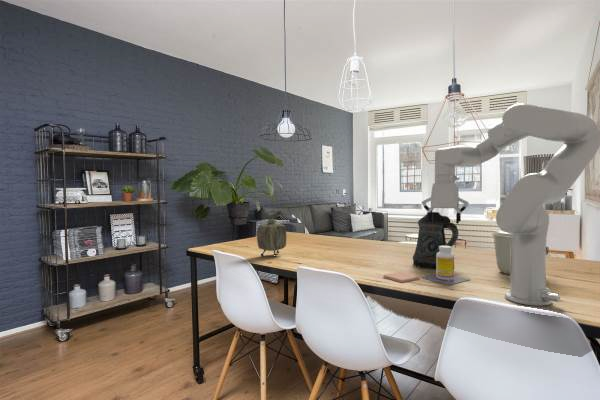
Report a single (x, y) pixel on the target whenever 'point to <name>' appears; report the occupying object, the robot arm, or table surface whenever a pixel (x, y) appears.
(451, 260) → the supplement bottle
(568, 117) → the robot arm
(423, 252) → the beer stein
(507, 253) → the canister
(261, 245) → the tabletop clock
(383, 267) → the table surface
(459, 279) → the tile
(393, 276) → the coaster pad
